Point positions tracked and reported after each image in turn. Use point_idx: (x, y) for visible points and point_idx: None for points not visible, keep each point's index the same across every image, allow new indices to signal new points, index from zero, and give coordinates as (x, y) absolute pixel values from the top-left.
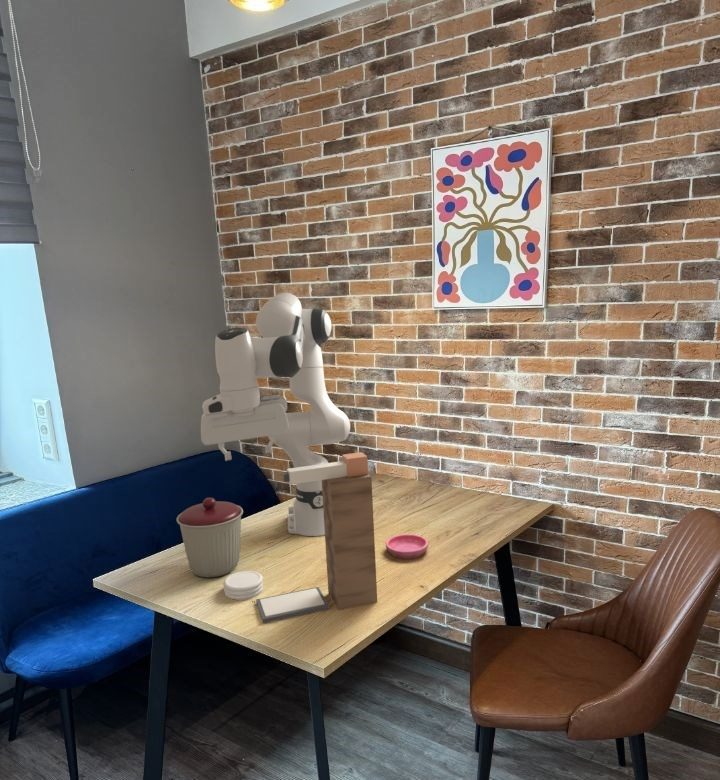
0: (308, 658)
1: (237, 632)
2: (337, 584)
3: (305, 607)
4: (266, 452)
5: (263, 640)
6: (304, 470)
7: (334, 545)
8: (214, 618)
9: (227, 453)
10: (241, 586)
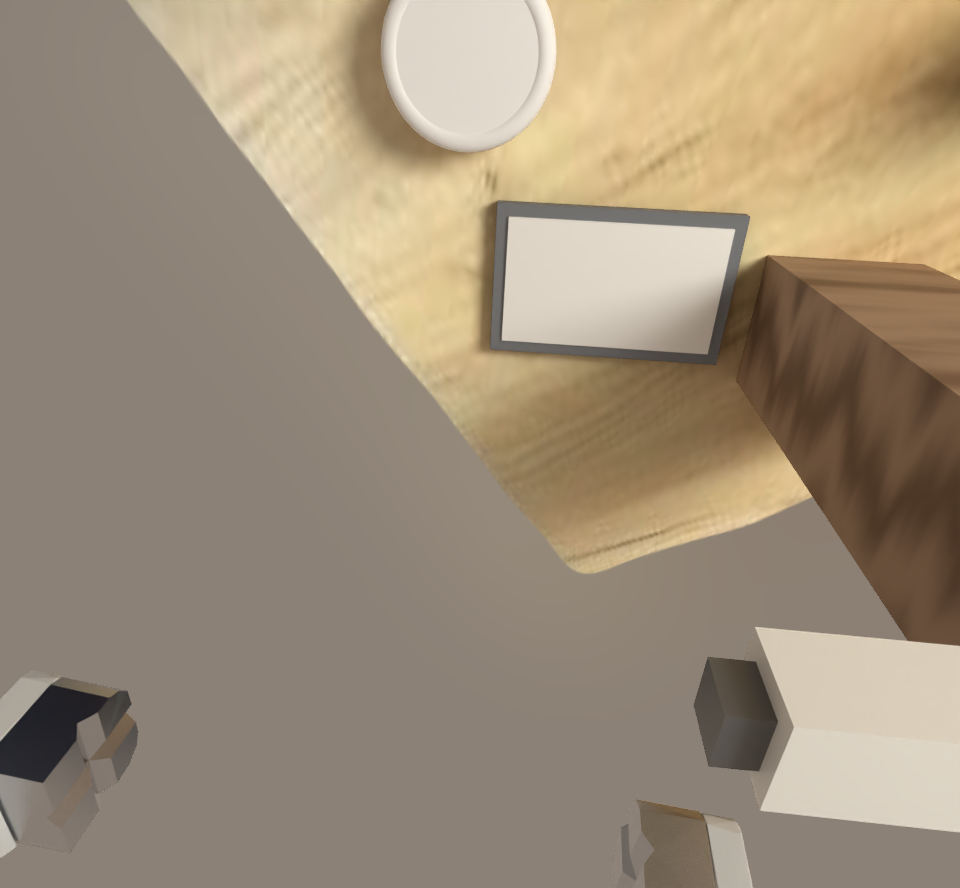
0: (558, 543)
1: (409, 357)
2: (765, 421)
3: (639, 348)
4: (621, 885)
5: (473, 428)
6: (912, 821)
7: (821, 504)
8: (344, 238)
9: (21, 843)
10: (449, 129)
